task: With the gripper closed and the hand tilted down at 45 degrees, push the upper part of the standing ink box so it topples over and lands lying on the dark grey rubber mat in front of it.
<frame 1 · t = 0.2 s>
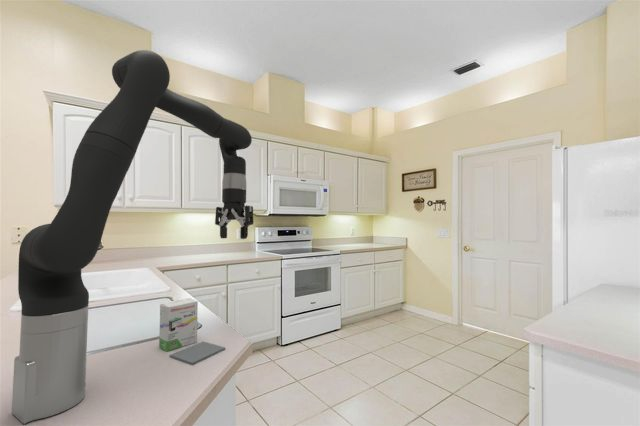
hand: (233, 238, 93), 29 cm above the table, tool pointing down, fingers open, 8 cm apart
ink box: (178, 345, 80), on the table
mat: (198, 353, 74), on the table
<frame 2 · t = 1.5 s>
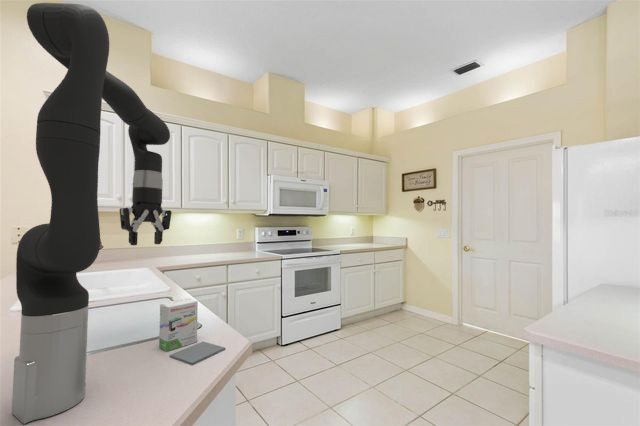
hand: (146, 244, 84), 28 cm above the table, tool pointing down, fingers open, 6 cm apart
nothing on the table moved.
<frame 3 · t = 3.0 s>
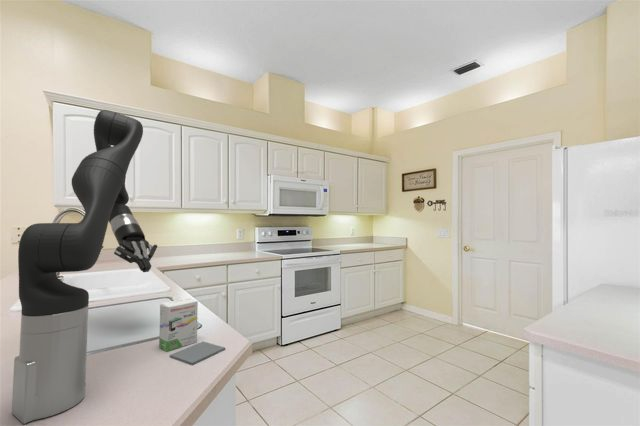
hand: (147, 270, 89), 19 cm above the table, tool tilted 45°, fingers closed
nothing on the table moved.
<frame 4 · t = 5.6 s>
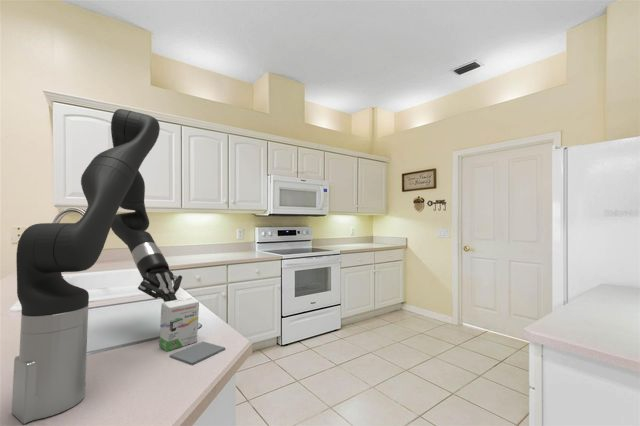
hand: (173, 306, 82), 10 cm above the table, tool tilted 45°, fingers closed
ink box: (178, 344, 80), on the table, touching gripper
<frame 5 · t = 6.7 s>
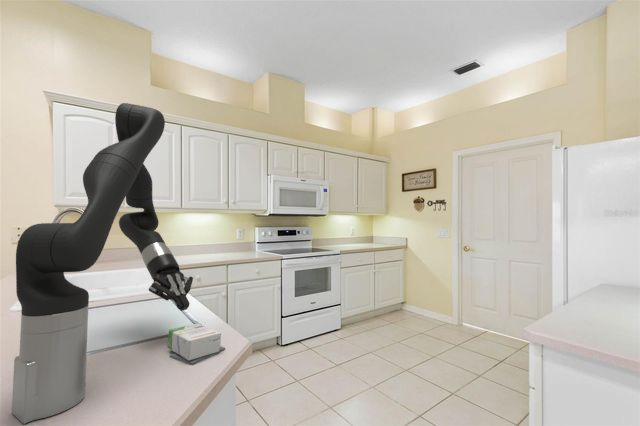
hand: (185, 308, 79), 10 cm above the table, tool tilted 45°, fingers closed
ink box: (183, 334, 79), point 3 cm above the table, touching mat
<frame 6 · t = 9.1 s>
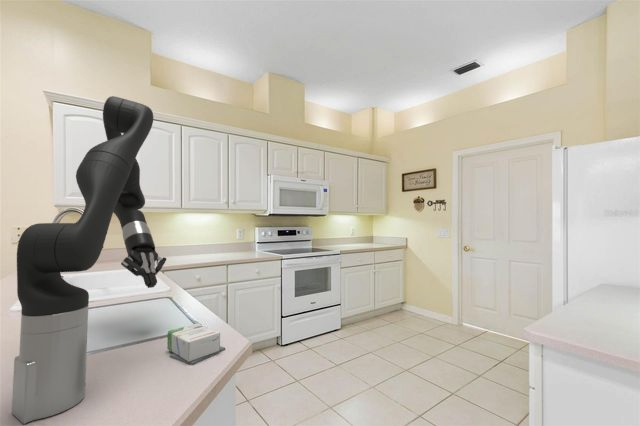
hand: (152, 286, 84), 15 cm above the table, tool tilted 40°, fingers closed
nothing on the table moved.
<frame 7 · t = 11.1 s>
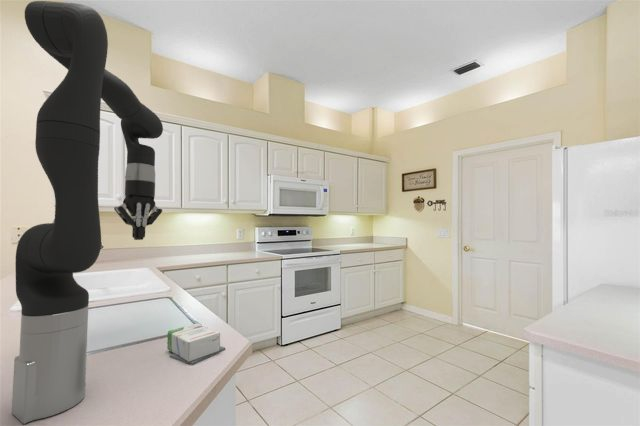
hand: (138, 239, 84), 29 cm above the table, tool pointing down, fingers closed
nothing on the table moved.
at the end: ink box tilted 90°; ink box inside the target area on the mat (7.4 cm from its centre), point 3.0 cm above the mat's base; the gripper is holding nothing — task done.
